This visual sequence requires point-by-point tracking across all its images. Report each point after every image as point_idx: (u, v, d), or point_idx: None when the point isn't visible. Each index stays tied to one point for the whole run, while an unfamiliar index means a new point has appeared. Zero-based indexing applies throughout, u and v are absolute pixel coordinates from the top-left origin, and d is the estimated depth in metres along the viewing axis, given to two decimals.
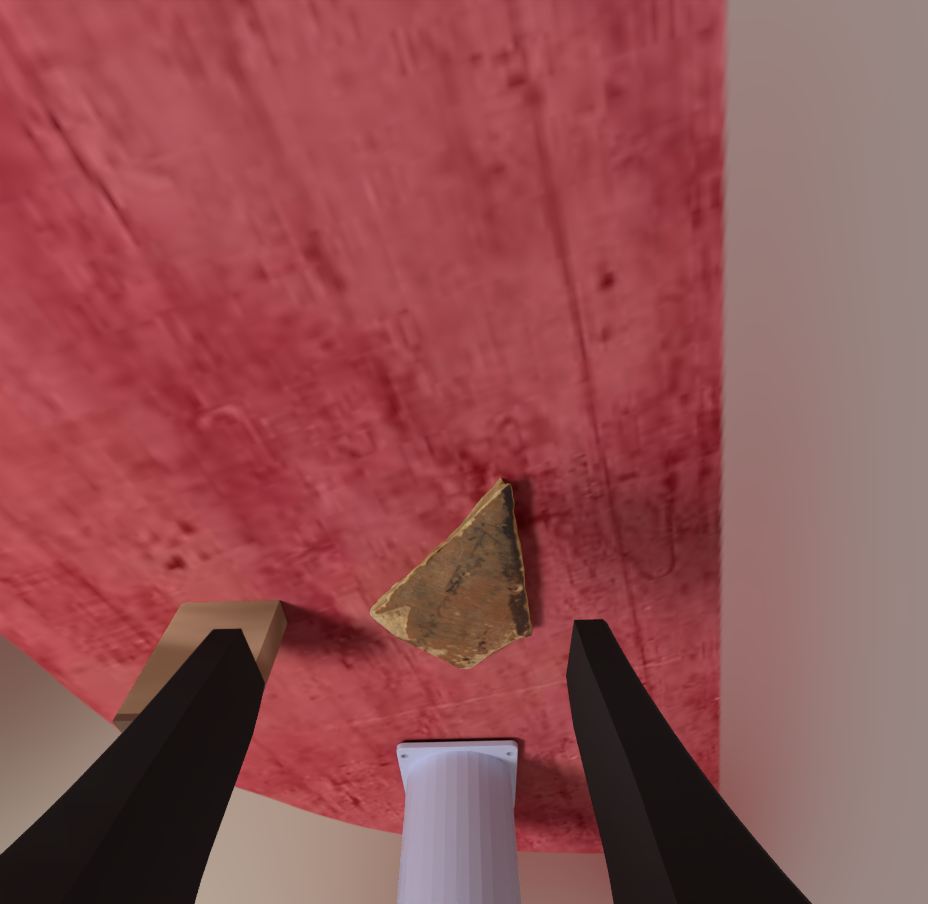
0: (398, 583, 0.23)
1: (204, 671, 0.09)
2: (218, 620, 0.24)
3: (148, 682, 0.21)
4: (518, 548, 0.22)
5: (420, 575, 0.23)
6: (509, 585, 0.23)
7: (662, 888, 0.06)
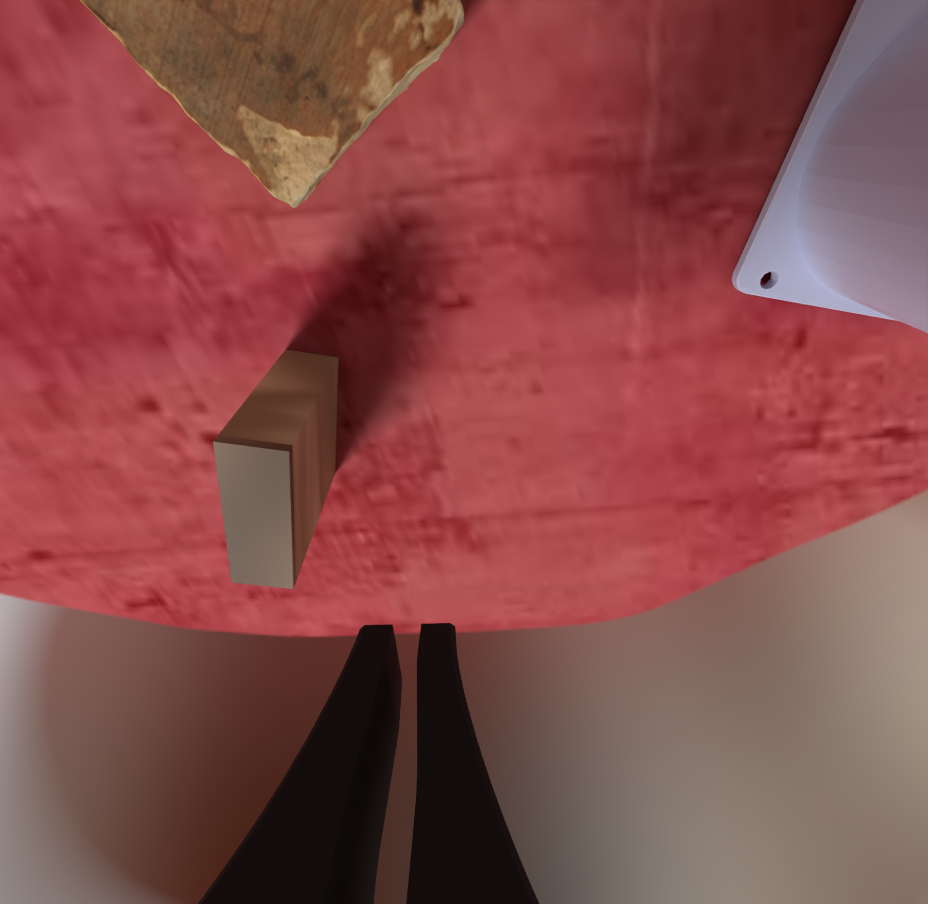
0: (192, 117, 0.13)
1: (372, 666, 0.09)
2: None
3: None
4: None
5: (148, 54, 0.12)
6: None
7: None
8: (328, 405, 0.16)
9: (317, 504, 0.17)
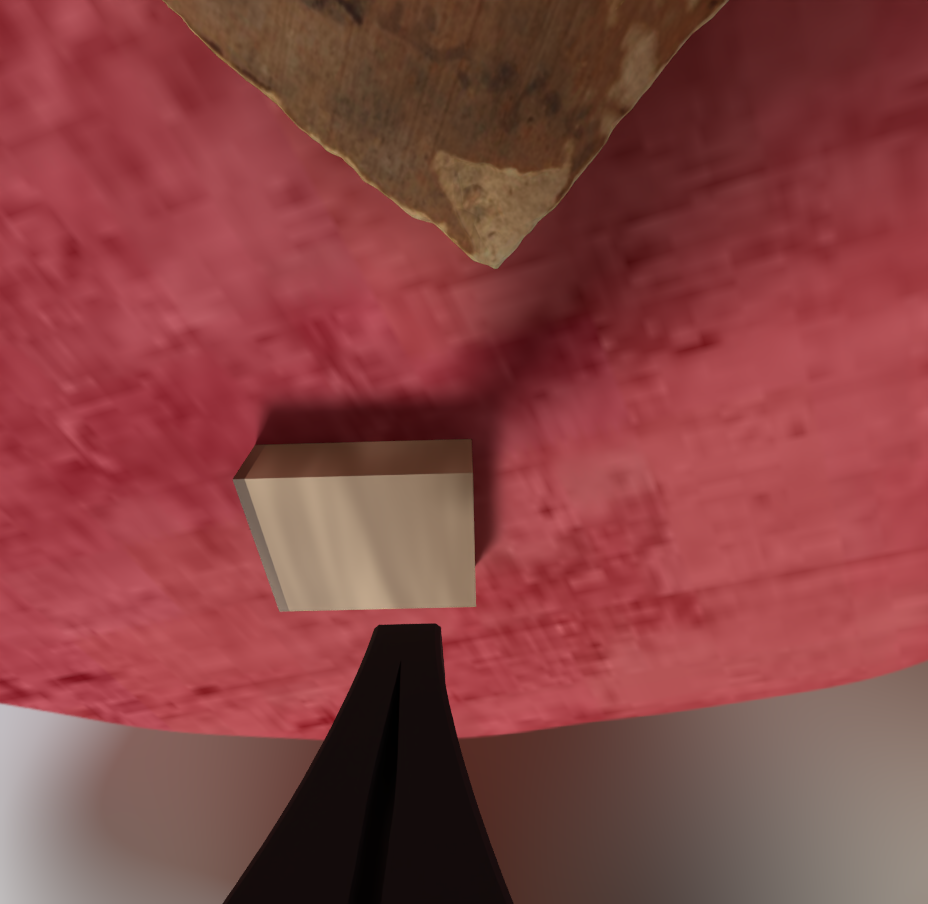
0: (368, 182, 0.09)
1: (389, 665, 0.09)
2: None
3: None
4: None
5: (314, 112, 0.09)
6: None
7: None
8: (416, 508, 0.13)
9: (373, 590, 0.14)
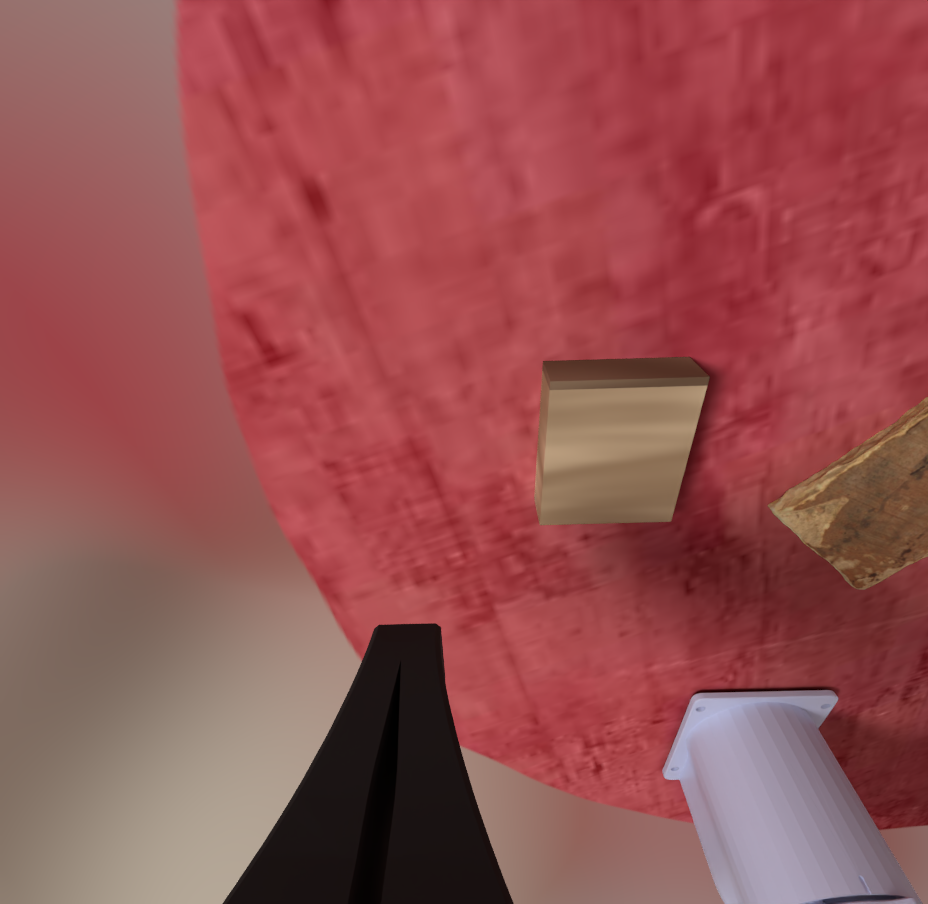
0: (844, 465, 0.18)
1: (388, 666, 0.09)
2: None
3: None
4: None
5: (888, 450, 0.18)
6: None
7: None
8: (648, 491, 0.18)
9: (568, 459, 0.17)
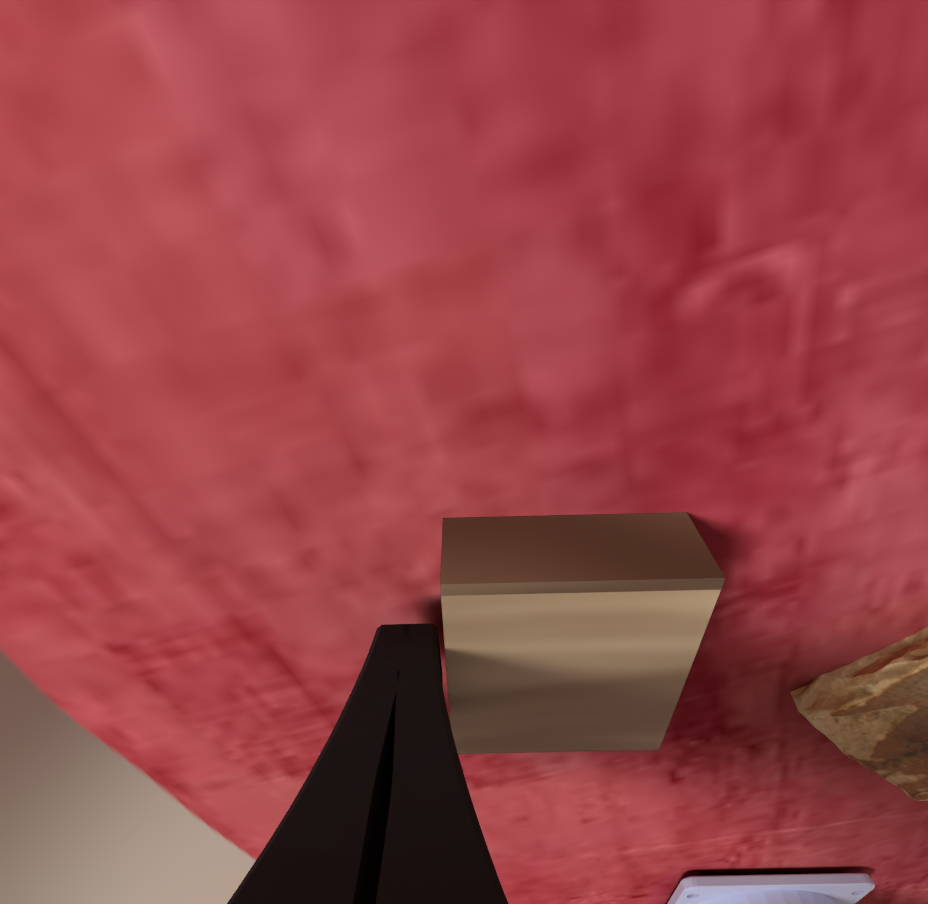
0: (914, 663, 0.12)
1: (392, 666, 0.09)
2: None
3: None
4: None
5: None
6: None
7: None
8: (622, 716, 0.11)
9: (486, 681, 0.10)
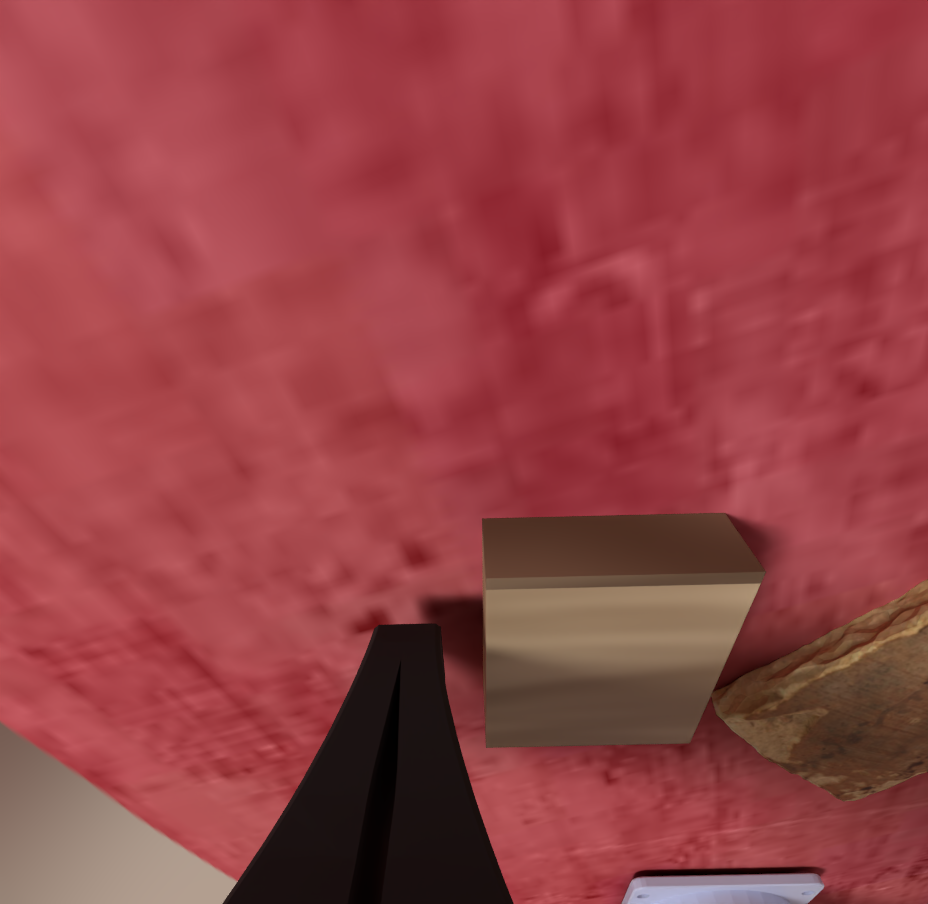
0: (821, 667, 0.12)
1: (388, 666, 0.09)
2: None
3: None
4: None
5: (889, 653, 0.11)
6: None
7: None
8: (655, 710, 0.11)
9: (524, 675, 0.10)
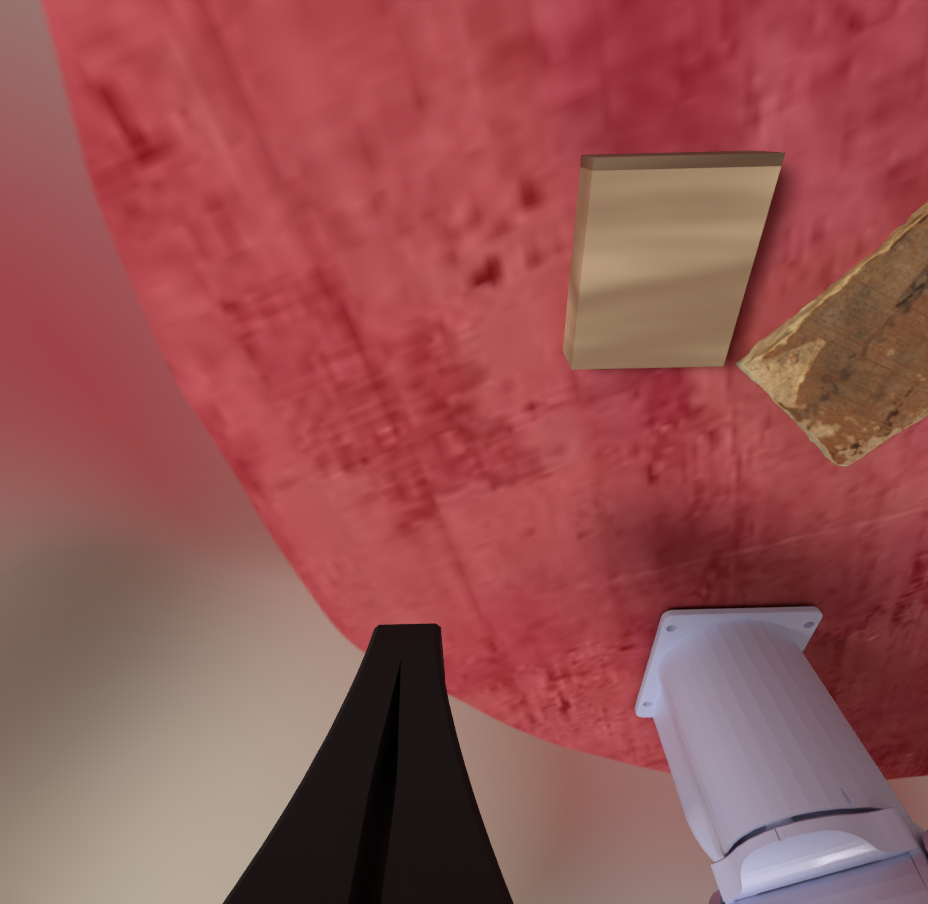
0: (820, 298, 0.16)
1: (388, 666, 0.09)
2: None
3: None
4: None
5: (870, 273, 0.15)
6: None
7: None
8: (700, 322, 0.15)
9: (609, 274, 0.14)
